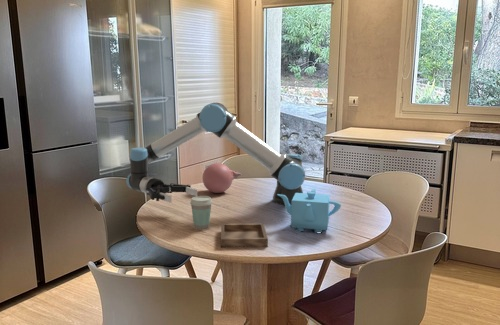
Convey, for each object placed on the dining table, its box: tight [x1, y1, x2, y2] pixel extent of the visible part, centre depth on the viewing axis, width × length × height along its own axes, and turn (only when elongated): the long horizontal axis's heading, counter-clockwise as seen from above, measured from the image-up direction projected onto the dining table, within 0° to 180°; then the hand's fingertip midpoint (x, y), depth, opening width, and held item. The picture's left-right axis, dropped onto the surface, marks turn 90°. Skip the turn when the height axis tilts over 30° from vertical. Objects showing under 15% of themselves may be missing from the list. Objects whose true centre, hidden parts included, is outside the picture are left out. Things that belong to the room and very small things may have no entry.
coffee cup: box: [189, 195, 213, 231], centre depth 172 cm, size 8×8×12 cm
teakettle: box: [277, 188, 342, 233], centre depth 172 cm, size 19×19×15 cm
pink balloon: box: [201, 162, 243, 194], centre depth 224 cm, size 15×20×15 cm
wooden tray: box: [220, 222, 269, 248], centre depth 161 cm, size 16×16×3 cm
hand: (184, 195), depth 177 cm, fingers open, 13 cm apart
